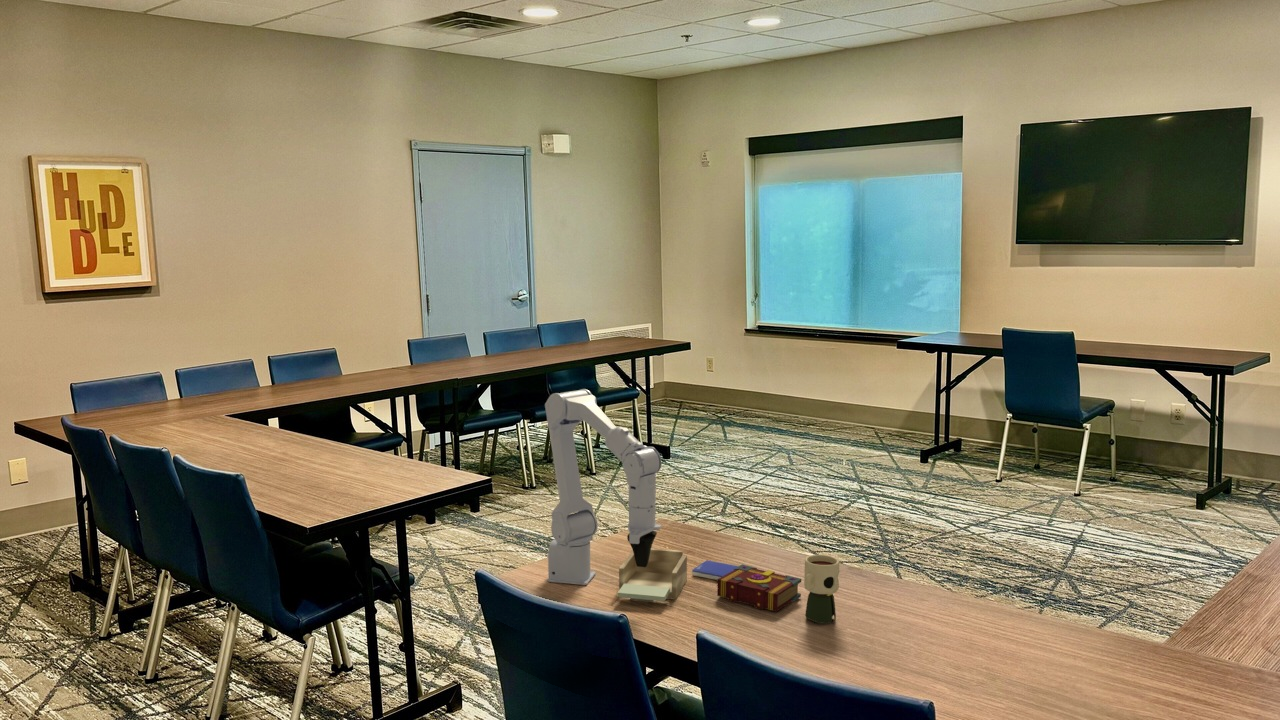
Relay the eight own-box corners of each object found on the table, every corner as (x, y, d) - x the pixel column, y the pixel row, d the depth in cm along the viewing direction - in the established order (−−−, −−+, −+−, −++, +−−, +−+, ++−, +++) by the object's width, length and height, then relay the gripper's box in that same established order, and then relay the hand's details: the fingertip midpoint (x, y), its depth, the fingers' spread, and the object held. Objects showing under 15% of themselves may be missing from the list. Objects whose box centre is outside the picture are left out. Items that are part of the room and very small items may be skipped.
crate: (619, 594, 219) (619, 563, 218) (632, 575, 231) (632, 546, 230) (676, 599, 216) (676, 568, 215) (686, 580, 228) (686, 551, 227)
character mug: (820, 632, 199) (822, 570, 197) (791, 623, 203) (792, 562, 202) (849, 616, 206) (851, 557, 205) (820, 608, 211) (821, 549, 209)
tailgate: (624, 590, 218) (617, 599, 213) (624, 583, 218) (617, 592, 213) (669, 594, 216) (664, 604, 210) (669, 587, 215) (664, 596, 210)
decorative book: (776, 614, 208) (777, 591, 207) (711, 596, 217) (711, 575, 216) (801, 598, 217) (801, 576, 216) (737, 581, 226) (738, 560, 225)
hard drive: (692, 569, 230) (740, 578, 224) (707, 559, 237) (755, 568, 231) (692, 575, 230) (740, 585, 224) (707, 565, 237) (754, 574, 231)
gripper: (652, 515, 202) (652, 579, 204) (667, 496, 216) (667, 556, 218) (619, 513, 203) (619, 576, 205) (636, 494, 217) (636, 553, 219)
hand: (642, 565), depth 212 cm, fingers closed
